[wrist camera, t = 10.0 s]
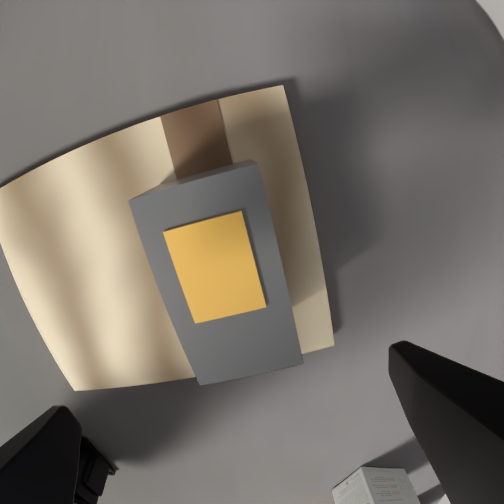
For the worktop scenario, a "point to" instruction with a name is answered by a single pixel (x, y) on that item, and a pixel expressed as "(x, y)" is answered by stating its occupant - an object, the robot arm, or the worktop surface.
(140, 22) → the worktop surface
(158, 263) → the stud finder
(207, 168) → the board
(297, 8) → the worktop surface
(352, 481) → the small box
